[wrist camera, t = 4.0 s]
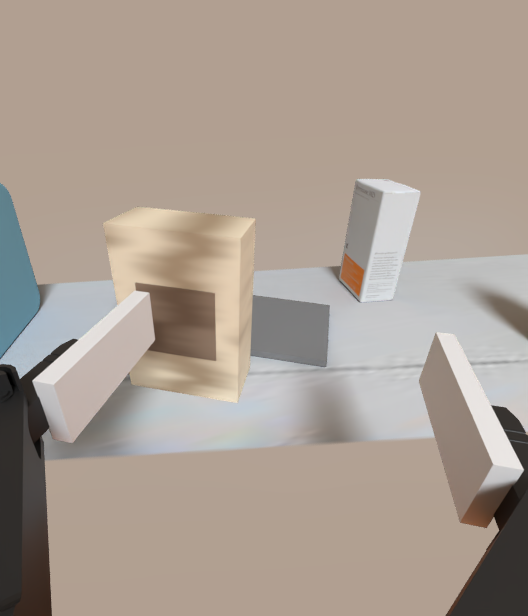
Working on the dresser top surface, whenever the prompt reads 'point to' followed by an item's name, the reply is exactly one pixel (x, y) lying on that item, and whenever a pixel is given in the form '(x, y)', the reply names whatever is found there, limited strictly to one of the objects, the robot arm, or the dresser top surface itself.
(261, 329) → the charcoal mat
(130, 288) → the maple block
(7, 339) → the data package
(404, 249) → the skincare box
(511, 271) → the dresser top surface
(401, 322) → the dresser top surface
